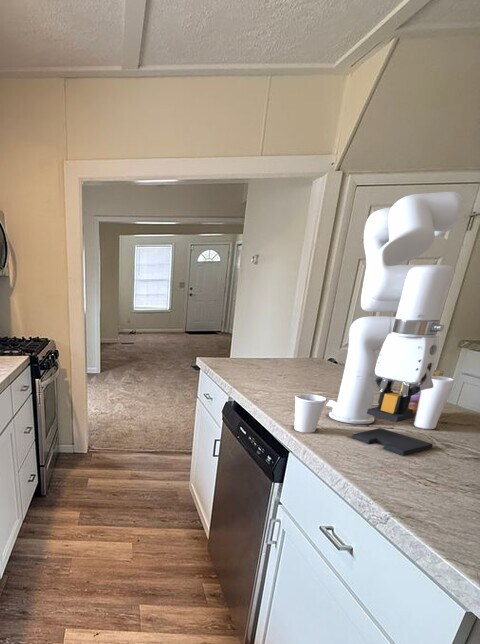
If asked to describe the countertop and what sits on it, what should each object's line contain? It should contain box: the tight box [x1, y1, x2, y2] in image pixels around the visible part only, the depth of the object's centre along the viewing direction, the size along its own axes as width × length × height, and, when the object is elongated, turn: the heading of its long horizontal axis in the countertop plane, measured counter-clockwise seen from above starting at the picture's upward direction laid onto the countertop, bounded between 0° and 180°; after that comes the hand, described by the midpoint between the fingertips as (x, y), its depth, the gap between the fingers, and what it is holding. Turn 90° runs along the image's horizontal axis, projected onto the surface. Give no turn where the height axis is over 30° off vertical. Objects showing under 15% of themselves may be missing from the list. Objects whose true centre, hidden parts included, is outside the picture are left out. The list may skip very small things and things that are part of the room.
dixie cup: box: [293, 393, 328, 434], centre depth 119 cm, size 8×8×10 cm
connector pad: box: [367, 391, 415, 423], centre depth 93 cm, size 7×9×5 cm
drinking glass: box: [413, 376, 455, 430], centre depth 119 cm, size 7×7×15 cm
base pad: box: [351, 427, 434, 456], centre depth 110 cm, size 14×12×1 cm
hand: (391, 409), depth 93 cm, fingers closed on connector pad, 3 cm apart
